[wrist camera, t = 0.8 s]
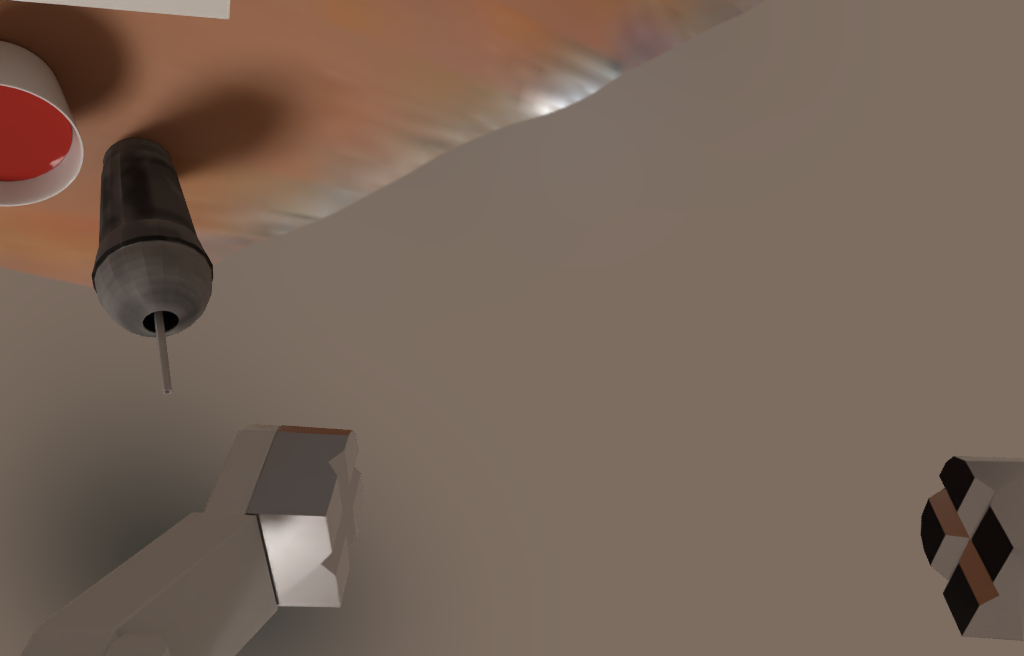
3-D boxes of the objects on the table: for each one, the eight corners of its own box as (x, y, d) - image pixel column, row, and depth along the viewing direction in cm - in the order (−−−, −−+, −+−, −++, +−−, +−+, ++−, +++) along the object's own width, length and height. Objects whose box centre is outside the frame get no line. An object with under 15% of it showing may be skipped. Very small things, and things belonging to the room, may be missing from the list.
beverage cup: (197, 127, 60) (243, 338, 49) (185, 204, 65) (224, 412, 54) (83, 116, 57) (104, 340, 45) (79, 198, 61) (97, 420, 50)
